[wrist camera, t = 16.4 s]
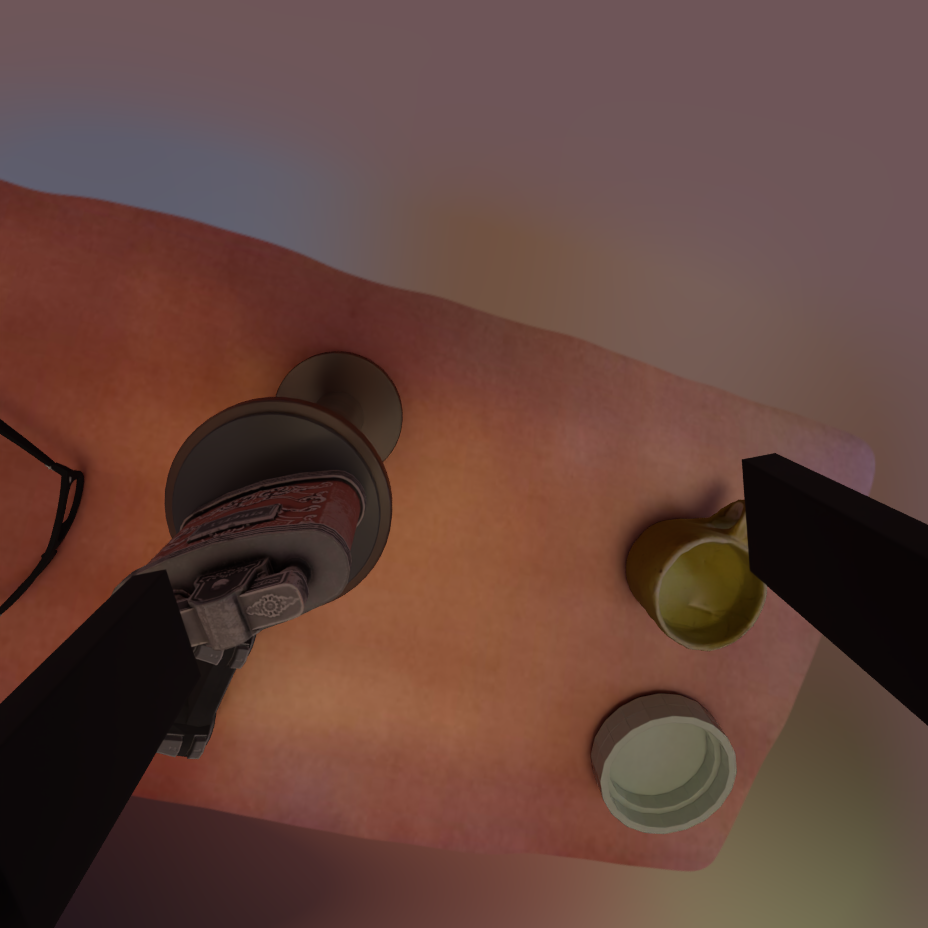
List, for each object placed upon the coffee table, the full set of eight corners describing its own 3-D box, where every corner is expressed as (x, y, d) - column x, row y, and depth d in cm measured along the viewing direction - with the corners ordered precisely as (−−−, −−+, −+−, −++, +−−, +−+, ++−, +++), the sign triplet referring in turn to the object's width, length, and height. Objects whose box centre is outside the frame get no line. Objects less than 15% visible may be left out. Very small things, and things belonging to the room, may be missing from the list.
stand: (388, 340, 51) (364, 381, 28) (413, 462, 54) (411, 594, 30) (262, 363, 51) (129, 425, 27) (293, 484, 54) (196, 636, 30)
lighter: (353, 455, 28) (320, 540, 19) (376, 526, 29) (356, 641, 20) (173, 505, 28) (49, 614, 19) (202, 574, 29) (96, 713, 20)
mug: (683, 656, 58) (723, 682, 48) (594, 579, 59) (615, 588, 49) (771, 552, 59) (828, 556, 49) (682, 477, 60) (720, 466, 50)
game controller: (191, 702, 61) (210, 788, 53) (111, 700, 57) (120, 793, 49) (258, 553, 58) (289, 622, 50) (179, 540, 54) (200, 612, 46)
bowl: (711, 678, 61) (731, 704, 57) (721, 787, 64) (740, 818, 61) (581, 704, 61) (593, 732, 57) (598, 812, 64) (609, 845, 60)
